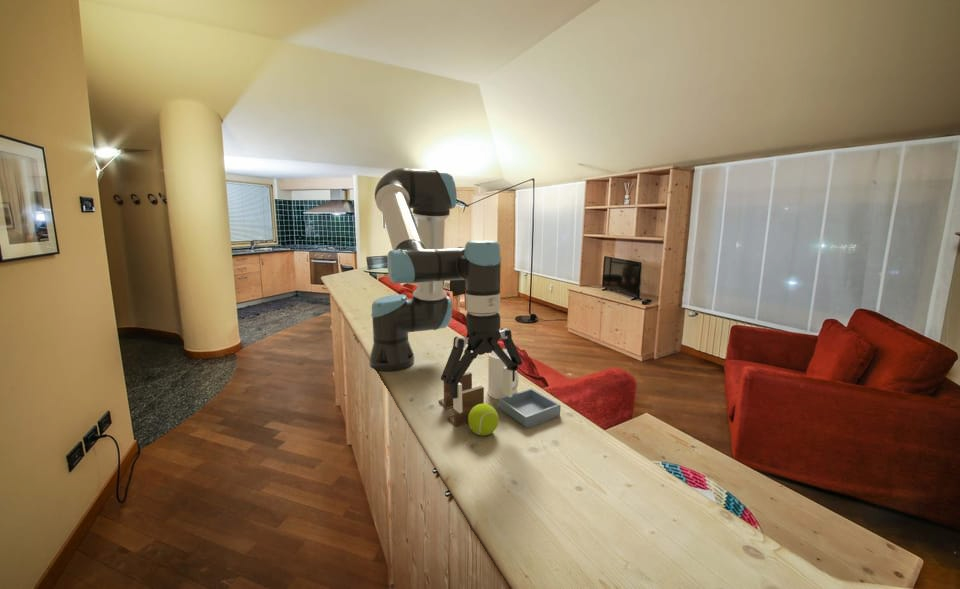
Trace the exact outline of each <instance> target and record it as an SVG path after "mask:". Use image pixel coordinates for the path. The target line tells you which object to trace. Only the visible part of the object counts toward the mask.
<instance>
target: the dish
mask: <svg viewBox="0 0 960 589" xmlns="http://www.w3.org/2000/svg"><path fill="white" fill-rule="evenodd" d="M497 409H498V410H499V411H500V412H501V413H503V414H504V415H506V416H507V417H508V418H510V419H511V420H512V421H514V422H515V423H517V424H518V425H519V426H521V427H522V428H524V429H526V430H527V429H529V428H532V427H535V426H537V425H540V424H542V423H545V422H548V421H550V420H553V419H555V418H558V417H560V416H561V404H560V403H558V402H556V401H555V400H553V399H551V398H549V397H547V396H546V395H544V394H542V393H540V392H539V391H538V390H535V389H533V388H529V389H526V390H522V391H519V392H518V391H517V393H515V394H512V397H508V396H505V397H502V398H499V399H498V408H497Z"/></svg>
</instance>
